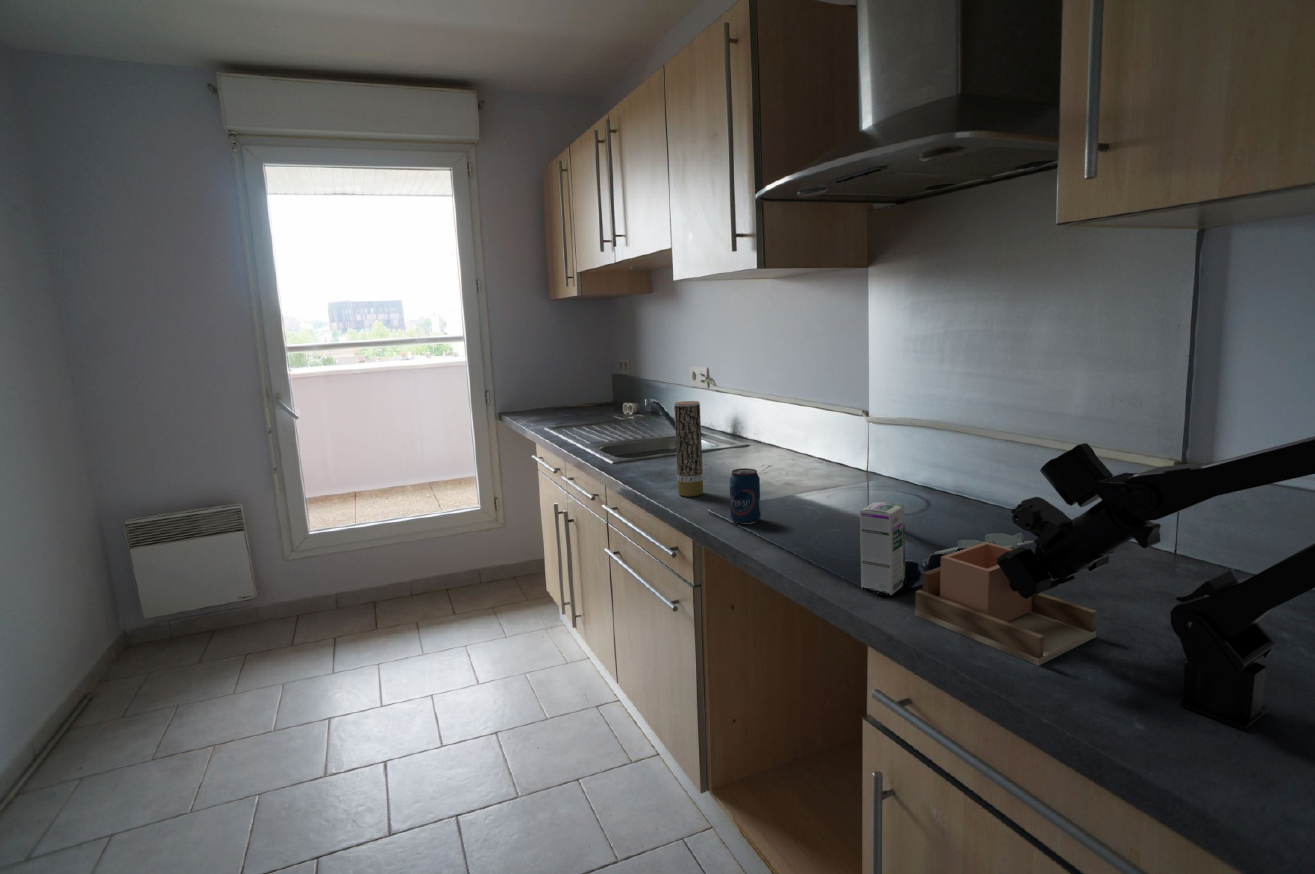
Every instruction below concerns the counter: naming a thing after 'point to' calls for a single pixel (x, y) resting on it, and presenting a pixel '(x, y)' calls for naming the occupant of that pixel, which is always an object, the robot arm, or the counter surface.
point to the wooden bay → (1012, 623)
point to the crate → (981, 582)
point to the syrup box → (882, 546)
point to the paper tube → (688, 448)
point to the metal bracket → (996, 539)
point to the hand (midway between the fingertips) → (1012, 587)
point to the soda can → (745, 495)
